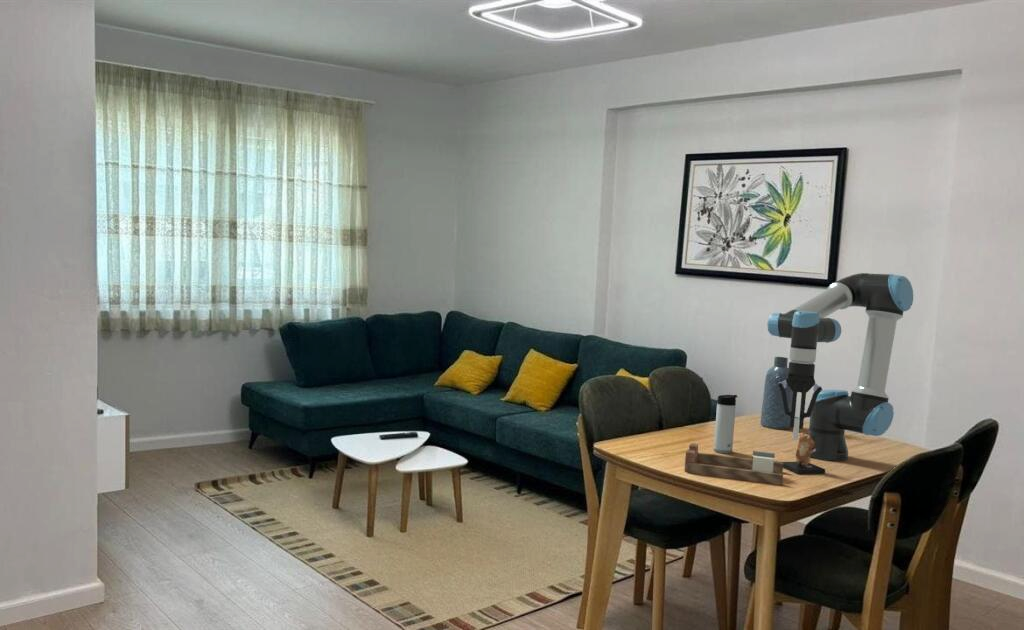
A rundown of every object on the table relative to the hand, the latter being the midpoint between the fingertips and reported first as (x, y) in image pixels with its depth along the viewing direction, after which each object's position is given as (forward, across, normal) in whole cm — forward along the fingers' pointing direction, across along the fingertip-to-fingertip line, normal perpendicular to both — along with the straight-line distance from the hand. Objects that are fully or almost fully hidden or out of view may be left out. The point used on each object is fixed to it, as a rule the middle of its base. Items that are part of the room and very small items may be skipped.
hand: (795, 438), depth 258 cm
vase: (+12, +5, -87) cm, 88 cm away
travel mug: (+13, +22, -28) cm, 38 cm away
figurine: (+13, -3, -15) cm, 20 cm away
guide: (+13, +17, 0) cm, 21 cm away
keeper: (+13, +9, 0) cm, 16 cm away
